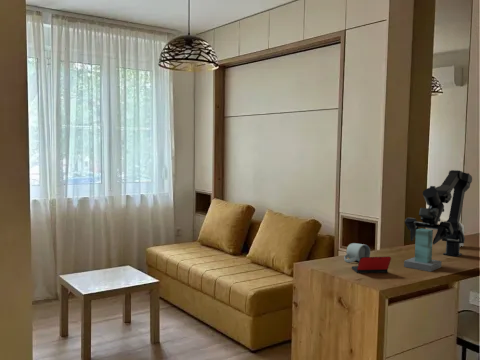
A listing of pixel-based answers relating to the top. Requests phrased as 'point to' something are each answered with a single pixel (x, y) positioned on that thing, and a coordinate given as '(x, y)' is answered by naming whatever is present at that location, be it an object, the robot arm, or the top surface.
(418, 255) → the teal block
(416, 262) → the gray square slab
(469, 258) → the top surface
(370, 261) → the handheld game console
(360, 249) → the ceramic mug
